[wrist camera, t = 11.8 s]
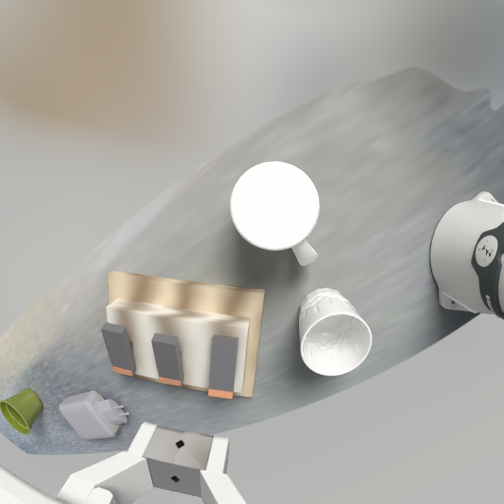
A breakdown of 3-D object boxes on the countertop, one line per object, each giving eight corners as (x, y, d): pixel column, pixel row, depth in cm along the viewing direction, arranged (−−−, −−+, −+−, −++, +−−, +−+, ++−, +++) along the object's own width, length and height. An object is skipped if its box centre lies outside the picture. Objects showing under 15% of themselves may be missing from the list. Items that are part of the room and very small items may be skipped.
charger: (145, 419, 47) (94, 428, 49) (116, 381, 46) (68, 394, 48) (136, 436, 42) (85, 442, 45) (105, 397, 41) (57, 407, 43)
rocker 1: (125, 326, 35) (121, 334, 33) (136, 369, 38) (132, 376, 37) (105, 322, 35) (100, 329, 34) (117, 364, 38) (113, 371, 37)
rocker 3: (238, 337, 36) (237, 341, 34) (233, 394, 36) (232, 399, 35) (214, 334, 36) (212, 338, 34) (210, 391, 36) (208, 396, 35)
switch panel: (264, 289, 40) (263, 305, 34) (252, 391, 44) (250, 415, 38) (112, 270, 41) (92, 282, 35) (121, 368, 45) (106, 386, 39)
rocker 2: (178, 336, 34) (175, 345, 33) (183, 378, 38) (181, 386, 37) (154, 332, 34) (150, 341, 33) (162, 374, 38) (159, 382, 37)
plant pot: (17, 374, 48) (-5, 393, 40) (47, 396, 49) (26, 417, 40) (21, 400, 50) (2, 418, 42) (49, 420, 51) (31, 441, 42)
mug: (288, 144, 26) (354, 254, 28) (284, 156, 36) (333, 237, 38) (212, 193, 28) (281, 299, 29) (228, 191, 38) (279, 271, 39)
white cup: (329, 345, 41) (342, 385, 31) (283, 320, 41) (286, 358, 31) (362, 300, 40) (385, 333, 30) (315, 272, 39) (329, 299, 29)
